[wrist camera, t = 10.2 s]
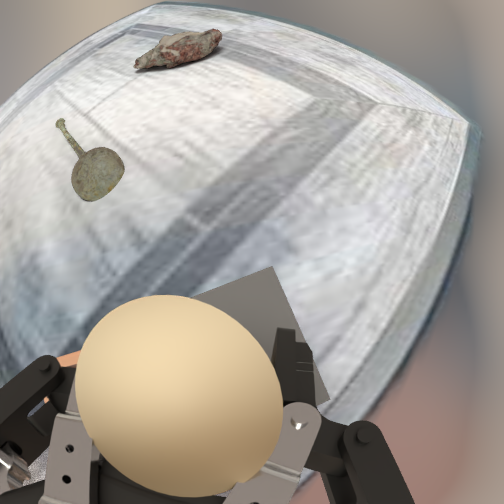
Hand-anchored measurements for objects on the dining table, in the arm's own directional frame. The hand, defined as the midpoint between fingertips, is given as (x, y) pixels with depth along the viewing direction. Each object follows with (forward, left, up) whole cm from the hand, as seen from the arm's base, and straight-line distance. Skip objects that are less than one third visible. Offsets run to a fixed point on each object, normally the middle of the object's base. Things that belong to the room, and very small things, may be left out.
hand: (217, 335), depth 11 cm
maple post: (+2, -1, -4) cm, 5 cm away
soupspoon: (-29, -12, -12) cm, 33 cm away
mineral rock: (-44, +6, -11) cm, 46 cm away
